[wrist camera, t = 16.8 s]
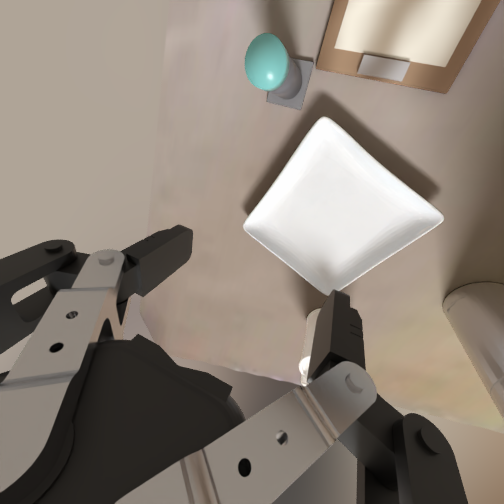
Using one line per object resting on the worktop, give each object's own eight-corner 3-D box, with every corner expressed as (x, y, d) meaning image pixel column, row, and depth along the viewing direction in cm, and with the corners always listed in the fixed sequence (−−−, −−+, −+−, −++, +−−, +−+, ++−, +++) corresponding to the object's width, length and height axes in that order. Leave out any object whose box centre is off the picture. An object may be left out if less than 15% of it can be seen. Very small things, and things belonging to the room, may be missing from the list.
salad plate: (245, 221, 41) (239, 228, 39) (324, 112, 29) (322, 111, 26) (329, 288, 42) (328, 299, 40) (440, 209, 30) (450, 218, 27)
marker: (307, 67, 27) (290, 36, 18) (297, 103, 29) (278, 92, 20) (278, 61, 27) (249, 29, 19) (271, 97, 30) (241, 84, 21)
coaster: (313, 63, 27) (313, 62, 26) (301, 110, 29) (300, 109, 29) (276, 55, 28) (275, 55, 27) (267, 102, 30) (266, 101, 30)
